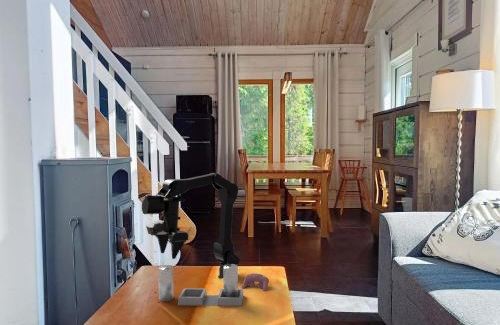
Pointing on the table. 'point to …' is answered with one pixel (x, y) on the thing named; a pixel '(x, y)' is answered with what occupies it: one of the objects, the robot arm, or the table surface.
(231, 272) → the billet
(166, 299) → the cylinder
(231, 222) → the robot arm
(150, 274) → the table surface
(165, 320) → the table surface
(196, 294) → the grey socket holder
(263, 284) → the video game controller
